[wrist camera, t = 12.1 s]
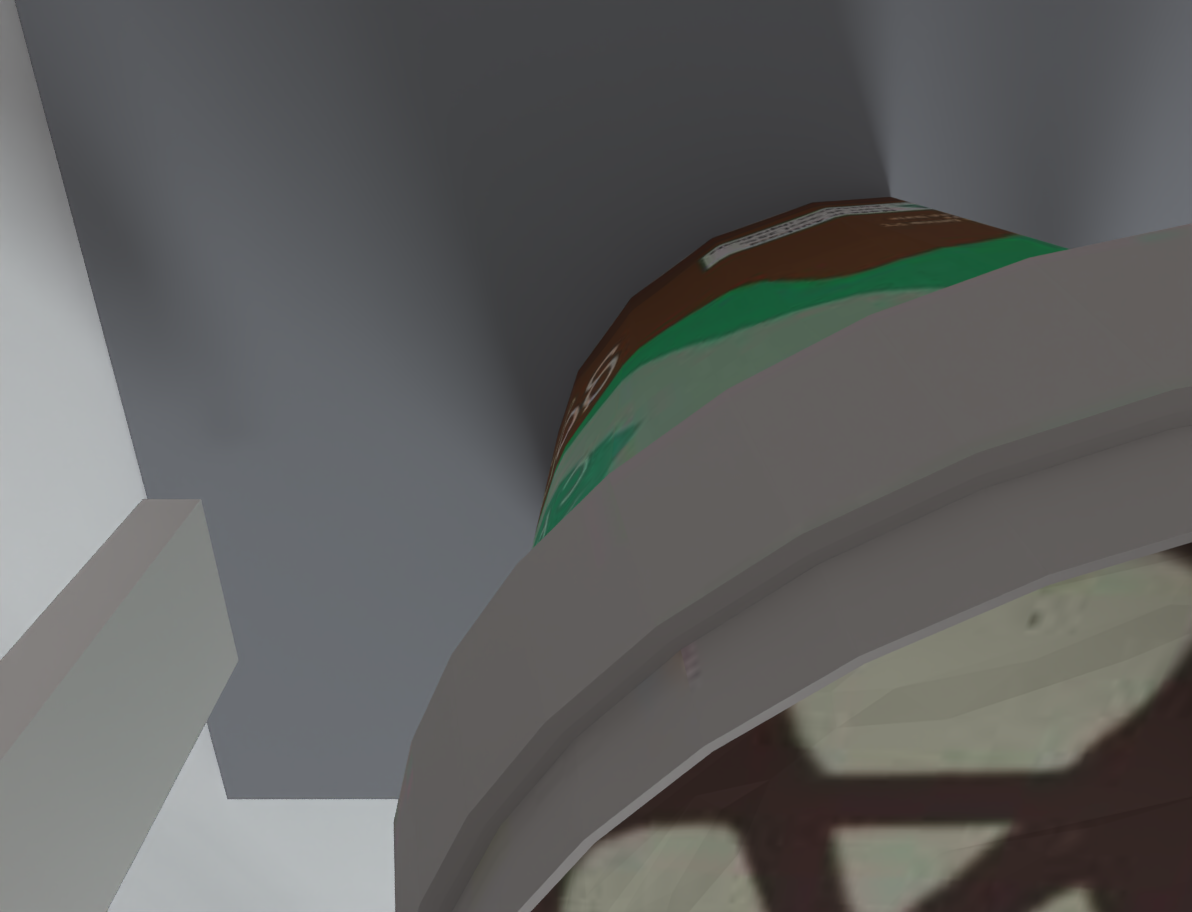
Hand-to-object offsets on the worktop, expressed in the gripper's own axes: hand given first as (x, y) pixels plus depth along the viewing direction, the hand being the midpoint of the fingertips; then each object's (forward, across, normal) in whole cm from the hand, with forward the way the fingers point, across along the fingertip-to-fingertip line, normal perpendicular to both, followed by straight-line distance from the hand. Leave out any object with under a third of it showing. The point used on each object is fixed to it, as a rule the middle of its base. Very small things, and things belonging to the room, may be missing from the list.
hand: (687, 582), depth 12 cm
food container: (+3, 0, 0) cm, 3 cm away
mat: (+4, -1, 0) cm, 4 cm away
